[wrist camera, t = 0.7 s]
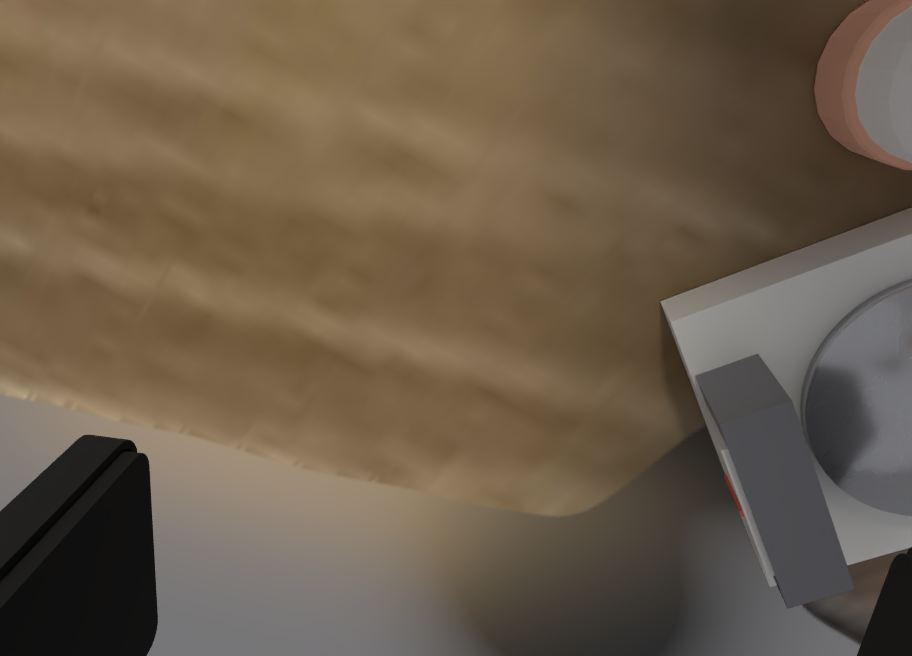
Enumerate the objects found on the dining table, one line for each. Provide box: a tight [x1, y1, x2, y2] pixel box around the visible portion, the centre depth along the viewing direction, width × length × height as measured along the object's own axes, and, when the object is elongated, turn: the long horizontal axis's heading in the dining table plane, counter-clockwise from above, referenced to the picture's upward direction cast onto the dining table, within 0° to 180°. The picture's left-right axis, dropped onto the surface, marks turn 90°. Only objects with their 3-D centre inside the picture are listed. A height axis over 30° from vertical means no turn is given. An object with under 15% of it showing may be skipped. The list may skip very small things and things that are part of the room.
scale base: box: [660, 207, 912, 608], centre depth 36 cm, size 16×16×8 cm
